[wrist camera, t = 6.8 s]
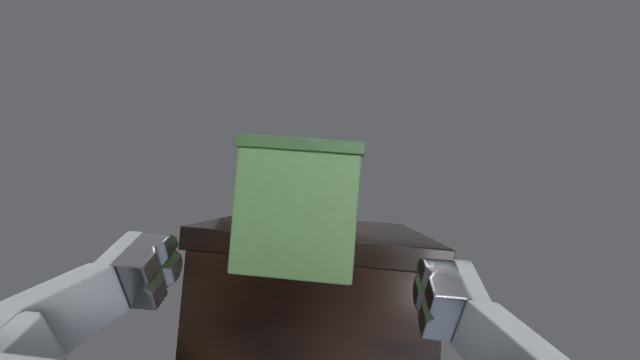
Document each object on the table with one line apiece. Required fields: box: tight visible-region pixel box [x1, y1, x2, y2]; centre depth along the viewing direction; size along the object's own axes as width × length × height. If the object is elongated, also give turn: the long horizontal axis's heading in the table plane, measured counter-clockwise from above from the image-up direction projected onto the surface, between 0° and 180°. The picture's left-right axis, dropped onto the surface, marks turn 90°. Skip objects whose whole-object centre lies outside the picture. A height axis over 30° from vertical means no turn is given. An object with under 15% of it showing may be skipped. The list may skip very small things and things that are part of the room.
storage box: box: [227, 134, 366, 286], centre depth 21 cm, size 4×24×4 cm, turn 176°
